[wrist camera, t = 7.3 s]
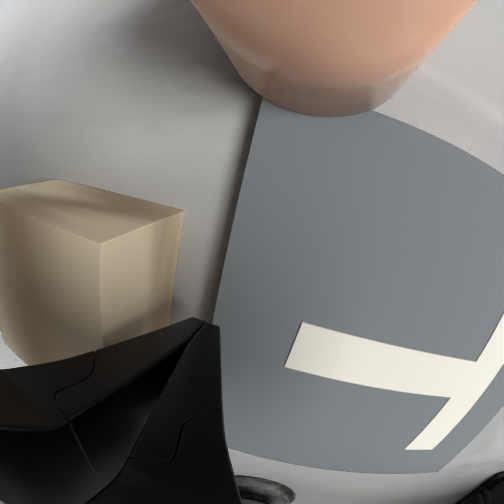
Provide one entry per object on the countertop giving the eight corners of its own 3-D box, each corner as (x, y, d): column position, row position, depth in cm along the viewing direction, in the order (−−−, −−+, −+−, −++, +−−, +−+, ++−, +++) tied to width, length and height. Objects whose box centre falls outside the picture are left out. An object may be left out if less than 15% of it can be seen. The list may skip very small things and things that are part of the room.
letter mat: (579, 239, 5) (585, 242, 5) (436, 466, 10) (437, 472, 9) (268, 87, 7) (266, 83, 6) (194, 429, 11) (191, 435, 11)
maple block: (187, 209, 8) (100, 243, 5) (168, 358, 10) (116, 427, 7) (61, 178, 9) (-19, 193, 5) (63, 305, 11) (5, 344, 7)
